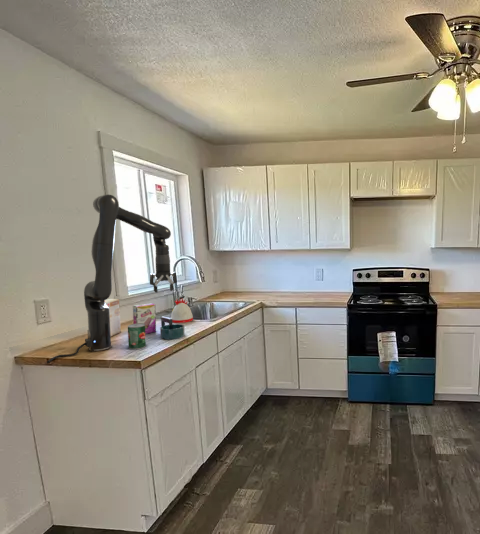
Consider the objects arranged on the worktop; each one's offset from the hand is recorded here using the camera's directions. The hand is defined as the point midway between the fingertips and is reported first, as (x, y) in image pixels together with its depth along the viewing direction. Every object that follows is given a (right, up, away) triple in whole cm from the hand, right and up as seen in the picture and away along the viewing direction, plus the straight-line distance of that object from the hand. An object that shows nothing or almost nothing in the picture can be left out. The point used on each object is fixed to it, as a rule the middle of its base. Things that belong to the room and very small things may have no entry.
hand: (163, 291), depth 195 cm
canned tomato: (-4, -26, -23) cm, 35 cm away
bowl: (+7, -25, -4) cm, 26 cm away
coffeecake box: (-31, -25, -1) cm, 40 cm away
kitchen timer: (-2, -22, +34) cm, 41 cm away
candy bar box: (-12, -24, +3) cm, 27 cm away
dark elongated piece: (+3, -24, 0) cm, 24 cm away
